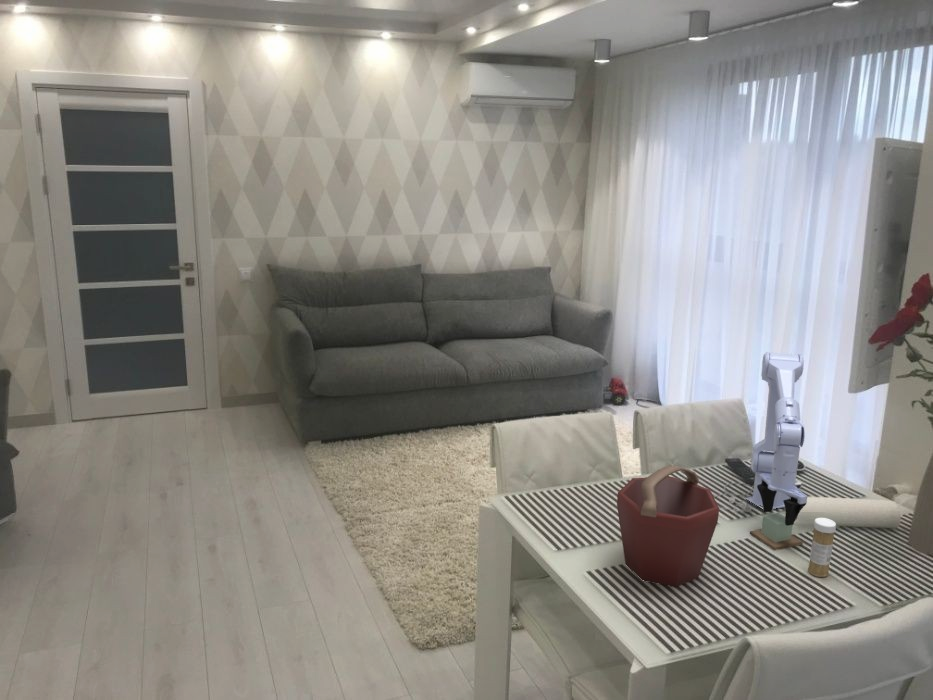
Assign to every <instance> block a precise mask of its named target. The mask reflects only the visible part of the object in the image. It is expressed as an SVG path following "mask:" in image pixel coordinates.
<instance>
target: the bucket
mask: <svg viewBox="0 0 933 700" xmlns="http://www.w3.org/2000/svg"><path fill="white" fill-rule="evenodd" d="M680 471H681V472H683V473H684V474H685V476H686V477H687V479H686V480H683V479H679V478H677V477H673V476H671V475H672V474H675V473H678V472H680ZM699 481H700V479H699V476H698V475H697V473H696V472H695V471H693V470H691V469H688V468H685V467H682V466H677V465H674V464H673V465H672V464H669V465H667V466H664V467H661V468H659V469H658V470H656V471H654V472H653V473H651V474H650V475H649V476H647V477H633V478H631V479H630V480H629V481H628V482H627V483H626V484H625V485H624V486H623V487H622V488H620V490H619V491H618V492H617V497H616V500H617V501H616V507H617V516H618V521H619V527H620V528H619V530H620V534H621V544H622V549H623V550H622V551H623V556H624V564H626V565H627V566H628V567H629V568H630V569H631V570H630V569H629V568H628V567H627V566H626V565H625V566H626V567H627V568H628V569H629V570H630V571H631V572H633V571H634V572H635V573H636V574H637V575H638V576H639V577H640V578H641V579H642V580H644V581H643V582H646V581H650V582H649V583H651V582H654V583H653V584H656V583H659V584H658V585H662V584H664V585H663V586H667V585H669V586H668V587H672V586H673V588H677V587H680V586H682V585H685V584H687V583H690V582H692V581H695V580H697V579H699V576H700V574H701V571H702V568H703V566H704V563H705V560H706V556H707V554H708V550H709V548H710V545H711V542H712V539H713V537H714V534H715V530H716V528H717V525H718V522H719V514H720V513H719V512H720V507H719V505H718V503H717V502H716V499H715V497H714V494H713V492H712V491H711V489H710V488H707V487H704V486H700V485H698V484H699ZM634 572H633V573H634ZM635 573H634V574H635ZM636 574H635V575H636ZM637 575H636V576H637ZM638 576H637V577H638ZM639 577H638V578H639ZM640 578H639V579H640ZM641 579H640V580H641ZM642 580H641V581H642ZM689 581H690V582H689Z"/></svg>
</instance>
